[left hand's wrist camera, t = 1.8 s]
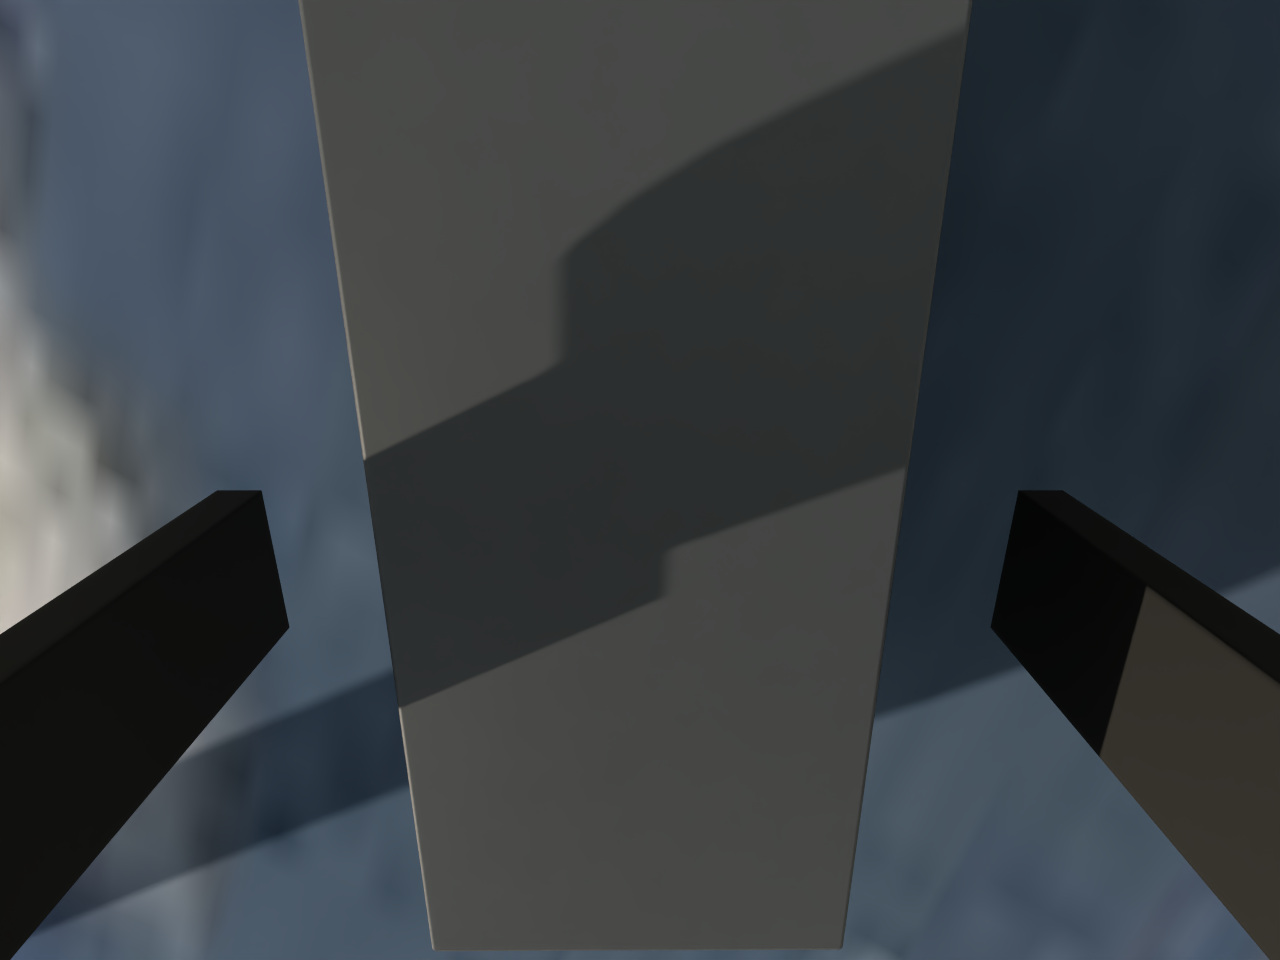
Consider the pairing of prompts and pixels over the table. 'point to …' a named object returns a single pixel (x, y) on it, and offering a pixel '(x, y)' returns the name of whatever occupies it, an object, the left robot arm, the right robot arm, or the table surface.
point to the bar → (636, 436)
